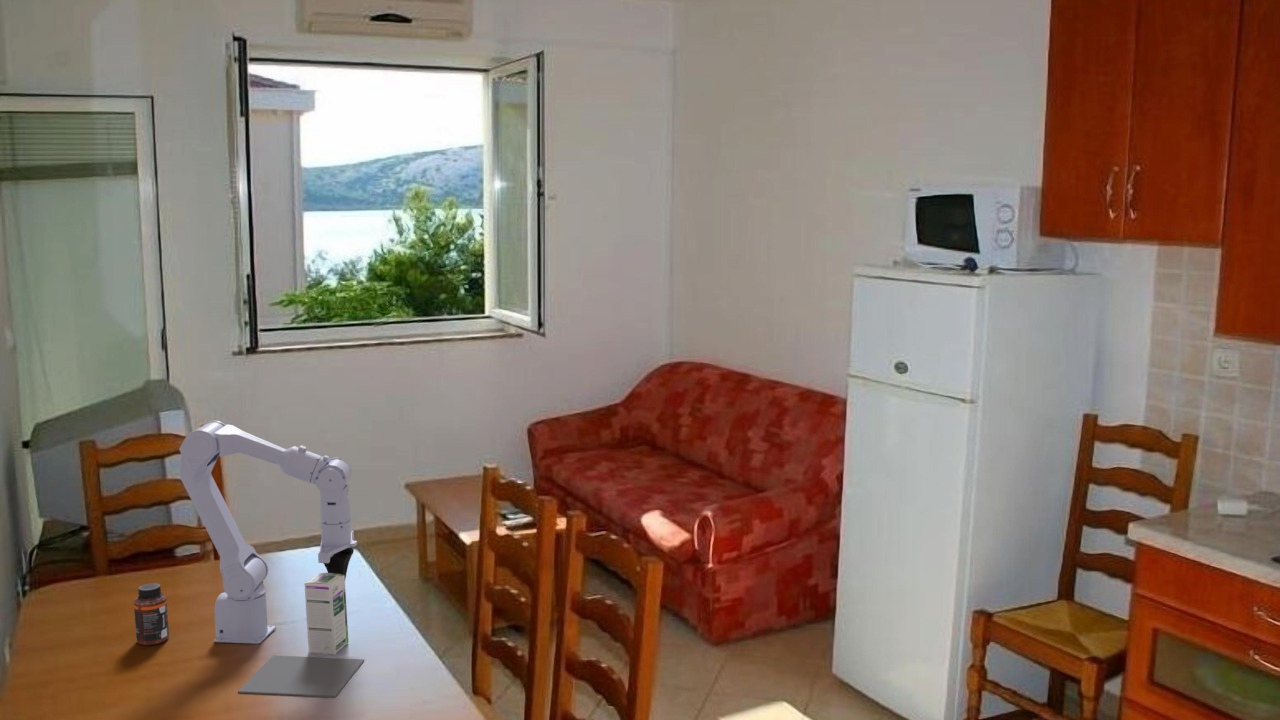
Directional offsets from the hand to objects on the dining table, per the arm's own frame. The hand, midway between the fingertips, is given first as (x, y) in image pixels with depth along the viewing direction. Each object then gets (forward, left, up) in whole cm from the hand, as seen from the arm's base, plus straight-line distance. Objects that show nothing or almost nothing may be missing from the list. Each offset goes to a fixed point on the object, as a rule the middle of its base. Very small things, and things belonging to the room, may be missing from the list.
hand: (338, 585), depth 215 cm
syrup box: (0, -6, -11) cm, 12 cm away
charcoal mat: (0, -19, -10) cm, 22 cm away
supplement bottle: (-36, -6, -11) cm, 38 cm away
